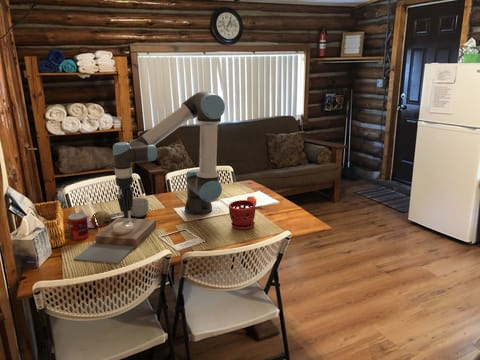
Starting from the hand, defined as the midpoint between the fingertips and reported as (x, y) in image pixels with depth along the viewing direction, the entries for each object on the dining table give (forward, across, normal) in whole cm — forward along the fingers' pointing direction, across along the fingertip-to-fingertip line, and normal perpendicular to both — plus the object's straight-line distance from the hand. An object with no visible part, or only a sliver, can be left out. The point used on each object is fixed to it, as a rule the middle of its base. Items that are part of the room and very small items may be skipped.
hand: (128, 223), depth 187 cm
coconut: (+6, -10, -20) cm, 23 cm away
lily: (+6, 0, -25) cm, 25 cm away
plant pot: (+5, -18, +52) cm, 55 cm away
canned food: (+6, +8, -21) cm, 23 cm away
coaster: (+1, +5, 0) cm, 5 cm away
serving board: (+5, +2, 0) cm, 6 cm away
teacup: (+5, -23, -7) cm, 24 cm away
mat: (+5, +21, -1) cm, 22 cm away
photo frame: (+6, +2, +27) cm, 28 cm away
